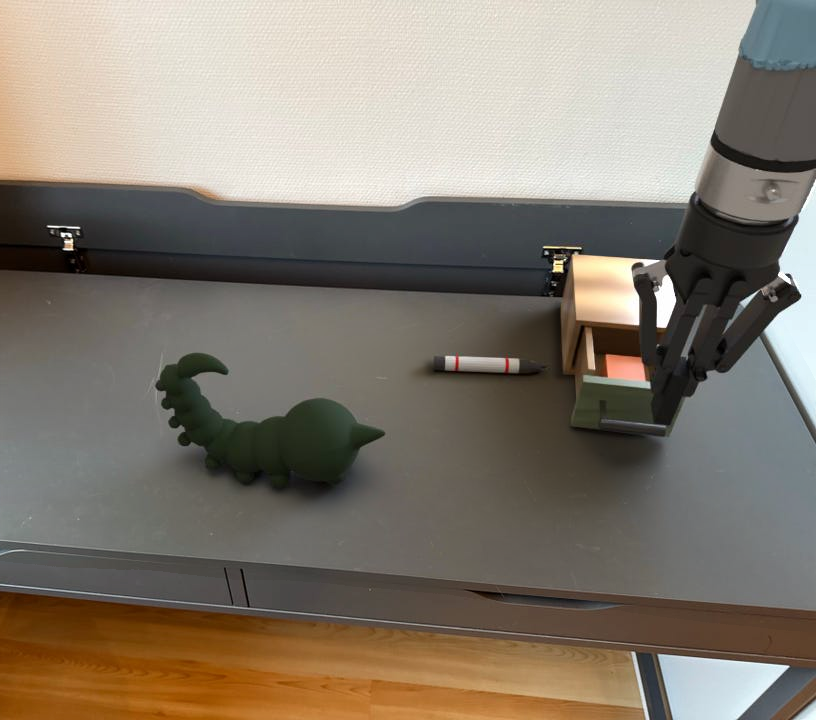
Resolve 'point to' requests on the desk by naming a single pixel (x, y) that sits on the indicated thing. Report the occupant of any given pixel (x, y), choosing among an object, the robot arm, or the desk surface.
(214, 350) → the desk surface
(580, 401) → the drawer
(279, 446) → the toy figurine
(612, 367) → the block
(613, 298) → the cabinet
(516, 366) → the marker
